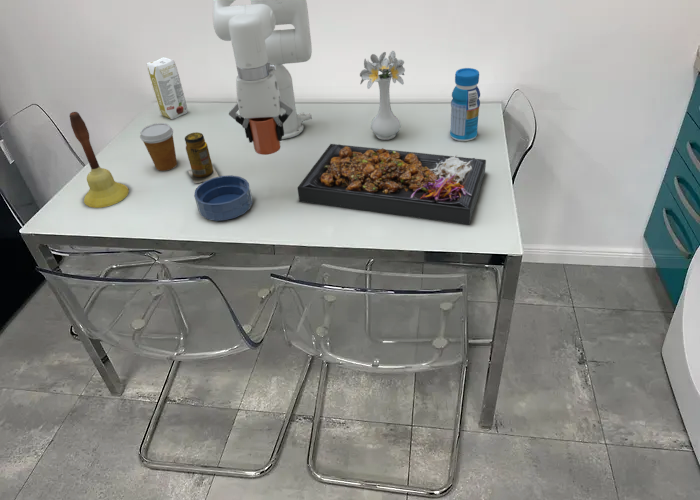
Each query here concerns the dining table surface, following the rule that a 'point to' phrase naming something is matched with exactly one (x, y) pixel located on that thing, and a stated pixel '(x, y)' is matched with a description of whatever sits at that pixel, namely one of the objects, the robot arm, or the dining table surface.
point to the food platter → (395, 182)
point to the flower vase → (384, 92)
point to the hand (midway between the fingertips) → (265, 138)
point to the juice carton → (167, 87)
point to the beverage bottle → (465, 105)
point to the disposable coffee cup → (160, 145)
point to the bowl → (223, 197)
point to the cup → (264, 135)
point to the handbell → (97, 172)
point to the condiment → (199, 158)
